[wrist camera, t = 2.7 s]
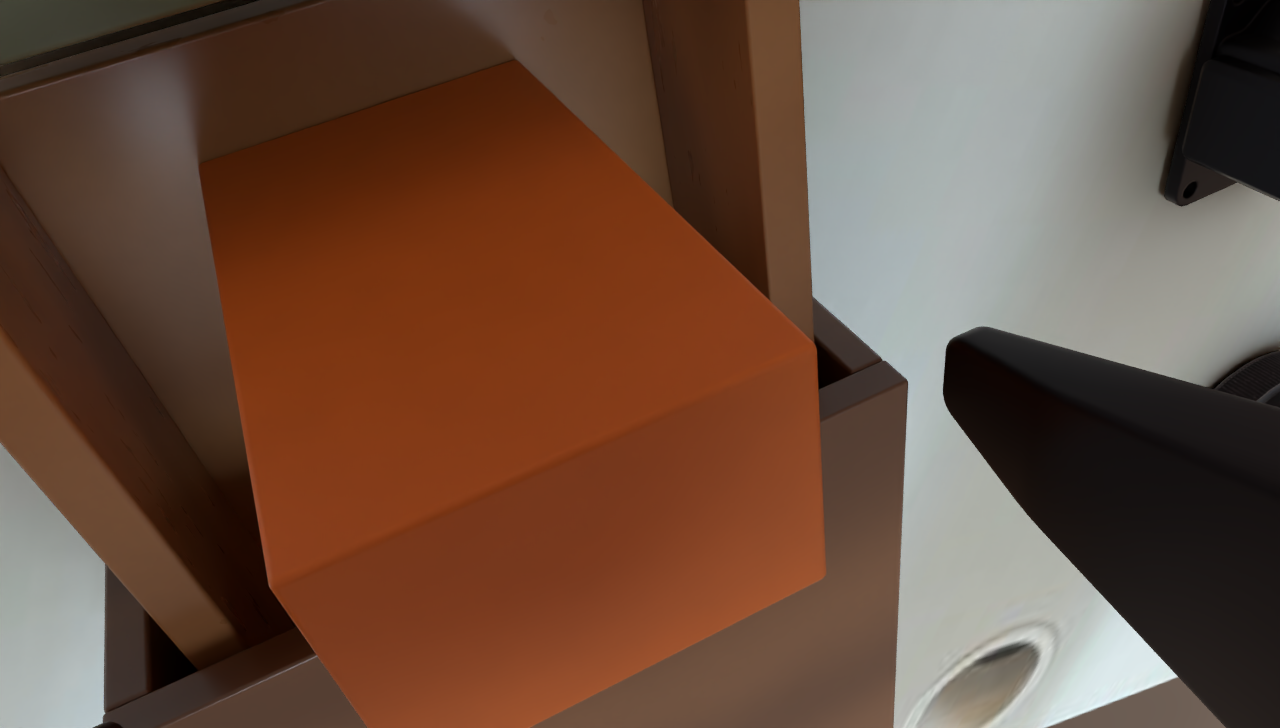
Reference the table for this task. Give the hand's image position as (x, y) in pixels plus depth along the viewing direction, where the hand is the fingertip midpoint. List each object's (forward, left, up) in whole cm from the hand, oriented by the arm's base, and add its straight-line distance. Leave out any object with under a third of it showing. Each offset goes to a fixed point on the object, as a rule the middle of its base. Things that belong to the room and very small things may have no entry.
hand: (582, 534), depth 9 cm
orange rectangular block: (0, 0, -8) cm, 8 cm away
